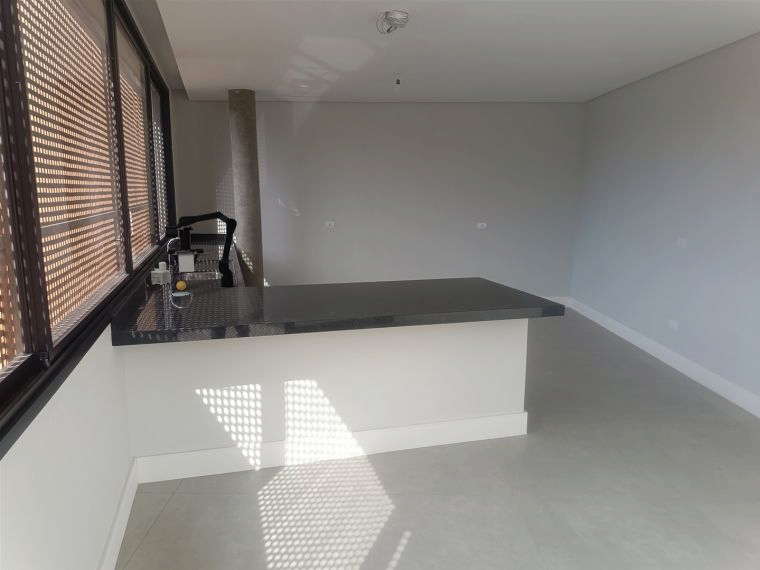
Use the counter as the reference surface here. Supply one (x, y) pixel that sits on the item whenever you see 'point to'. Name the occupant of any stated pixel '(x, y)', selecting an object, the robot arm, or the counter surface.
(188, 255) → the matte gray cube
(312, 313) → the counter surface
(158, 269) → the container
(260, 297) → the counter surface
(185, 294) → the disc
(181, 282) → the ball
